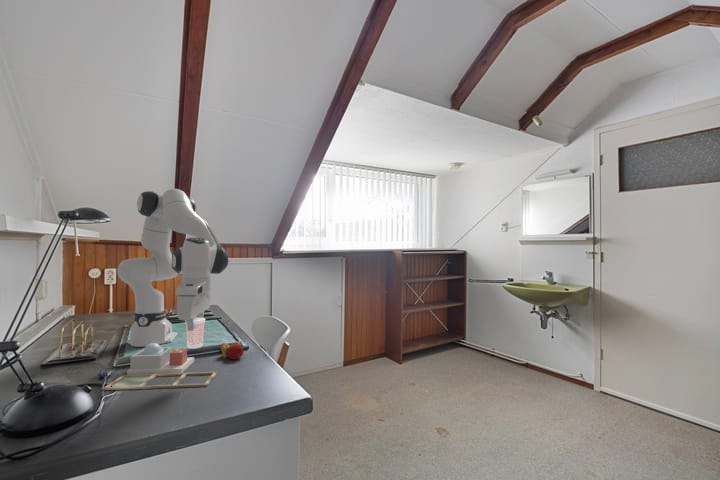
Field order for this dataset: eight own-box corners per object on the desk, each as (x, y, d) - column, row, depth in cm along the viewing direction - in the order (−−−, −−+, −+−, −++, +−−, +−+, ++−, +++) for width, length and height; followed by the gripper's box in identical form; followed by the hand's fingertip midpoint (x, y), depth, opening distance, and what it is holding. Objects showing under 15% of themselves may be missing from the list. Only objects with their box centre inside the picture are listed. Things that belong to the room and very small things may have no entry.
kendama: (212, 354, 144) (226, 360, 130) (215, 339, 146) (228, 343, 132) (231, 354, 149) (246, 360, 135) (233, 339, 150) (248, 343, 136)
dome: (147, 358, 128) (147, 340, 128) (166, 358, 129) (167, 340, 129) (137, 365, 121) (137, 346, 121) (158, 365, 122) (158, 345, 122)
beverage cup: (183, 350, 110) (184, 306, 110) (185, 344, 116) (186, 303, 116) (204, 348, 113) (205, 305, 113) (205, 342, 118) (206, 302, 118)
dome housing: (144, 362, 130) (145, 346, 130) (194, 361, 132) (194, 345, 132) (127, 374, 118) (127, 357, 118) (181, 372, 120) (181, 355, 120)
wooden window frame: (123, 376, 117) (123, 374, 117) (217, 373, 120) (217, 371, 120) (102, 390, 106) (102, 388, 106) (206, 386, 109) (206, 384, 109)
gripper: (197, 282, 124) (196, 319, 124) (173, 290, 104) (172, 335, 104) (215, 282, 125) (214, 319, 125) (194, 290, 105) (193, 335, 105)
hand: (195, 327), depth 114 cm, fingers closed on beverage cup, 6 cm apart
